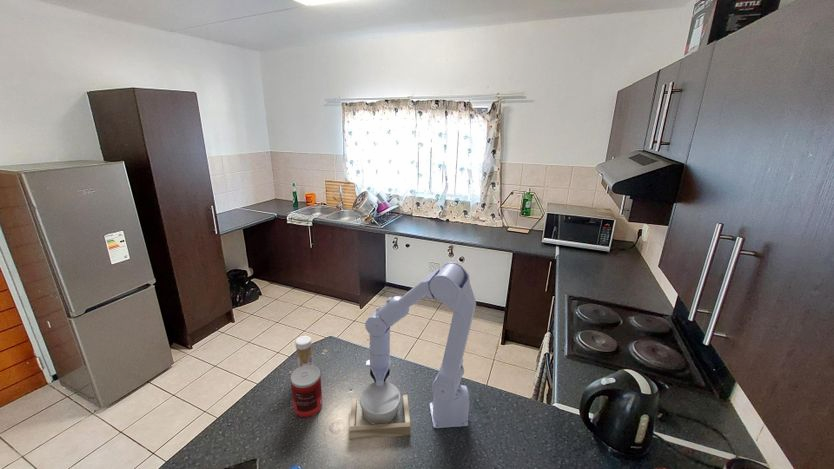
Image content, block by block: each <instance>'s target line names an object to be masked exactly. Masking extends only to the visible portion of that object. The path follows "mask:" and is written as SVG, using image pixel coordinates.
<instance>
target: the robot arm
mask: <svg viewBox="0 0 834 469" xmlns="http://www.w3.org/2000/svg"><path fill="white" fill-rule="evenodd" d="M470 281H471V280H470V274H469V272H467V271H466V269H465V268H464V266H463V265H461V264H460V263H459V262H455V261H449V262H446V263H444V264H443V265H442V267H438V268H437V269H435V270H434V271H432V272H431V273H429V274H428V275H426V276H425V277H424V278H422V280H420V281H419V282H418V283H417V284H416V285H414V286H413V287H412V288H411V289H410V290H408V291H407V292H406V293H405V294H404V295H402V296H399V295H396V296H393V297H392V296H390V297H389V298H387V299H386V301H385V304H383V305H382V306H378V307H377V308H376V309H375V311H374V312H373V313H372V314H371V315H370V316H369V317H368V318H367V319H366V321H365V325H364V326H365V327H364V328H365V329H366V331H367V333H368V336H369V359H367V360H366V361H365V367H367V368H369V375H370V377H371V378H372V379H373V381H374V382H376V386H384V382H387V379H388V377H389V376H390V372H391V370H390V366H391V358H390V356H391V327H393V325H395V324H397V323H398V322H399V321H401V320H403V318H405V317H406V316H407V315H408V314H409V312H410V307H412V306H414V305H415V304H416V303H417V302H420V300H422V299H423V298H424V297H427V298H430V299H431V300H434V298H435V299H437V301H439V302H441V303H442V304H443V305H445V306H446V307H447V308H449V310H451V311H453V314H452V316H451V317H452V318H451V322H450V326H449V332H448V336H447V340H446V345H445V349H444V352H443V358H442V362H441V365H440V367H439V371H438V373H437V375H436V376H435V379H434V381H433V382H432V384H431V391H432V394H433V401H432V402H429V410H430V417H431V422H432V426H433V428H434V429H443V428H457V427H469V422H468V421H469V412H470V393H469V390H468V387H467V385H463V384H461V380H462V377H463V376H464V374H465V369H464V365H463V364H464V359H463V358H464V354H465V350H466V347H467V342H468V339H469V335H470V332H471V331H470V330H471V326H472V323H473V318H474V314H475V310H476V306H477V301H476V298H475V295H474V291H473V289H472V285H471V282H470ZM374 382H373V383H374Z"/></svg>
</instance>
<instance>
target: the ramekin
mask: <svg viewBox="0 0 834 469" xmlns="http://www.w3.org/2000/svg"><path fill="white" fill-rule="evenodd" d="M400 403H401V392H400V390H399V389H398V387H397V386H396V385H395V384H393V383H391V382H388V381H385V382H384V386H376V382H372V383H370V384H368V385H367V386H365V387H364V388H363V389H362V391H361V392H360V395H359V405H360V408H361V412H362V415H363V418H364V419H365V420H366V421H367V422H369V423H371V425H378V424H389V423H390V422H392V420H394V419H395V417H396V416H397V414H398V411H399V406H400Z"/></svg>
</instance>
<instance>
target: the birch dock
mask: <svg viewBox="0 0 834 469" xmlns="http://www.w3.org/2000/svg"><path fill="white" fill-rule="evenodd" d="M402 407H403V408H402V409H403V420H404V422H395V423H392V422H391V423H386V424H378V425H375V424H370V425H369V424H367V425H356V424H357V409H358V399H357V397H352V398H351V407H350V408H351V409H350V418H349V428H348V429H349V431H348V434H349V435H348V436H349V437H348V438H349V441H352V440H353V441H354V440H365V439H377V438H389V437H391V438H392V437H401V436H402V437H403V436H411V419H410V418H411V417H410V409H409V401H408V394H403V395H402Z"/></svg>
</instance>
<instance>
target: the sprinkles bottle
mask: <svg viewBox="0 0 834 469" xmlns="http://www.w3.org/2000/svg"><path fill="white" fill-rule="evenodd" d="M294 342H295V349H296V358H297V360H296V361H297V366H298V367H297V368H299V367H301V366H305V365H313V366H314V359H313V351H312V344H313V343H312V338H311V337H310V336H308V335H301V336H299V337H297V338H296V339H295V341H294Z"/></svg>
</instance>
